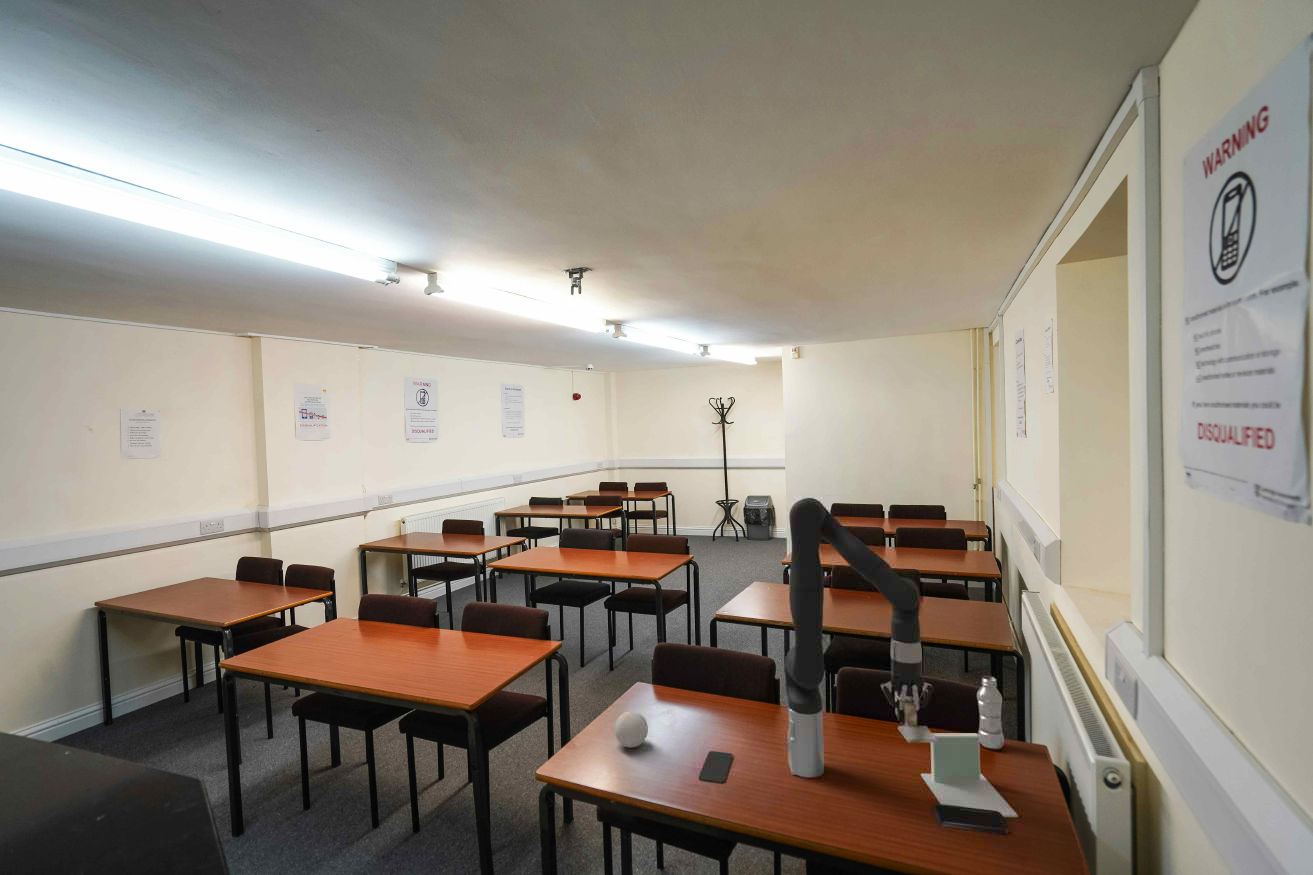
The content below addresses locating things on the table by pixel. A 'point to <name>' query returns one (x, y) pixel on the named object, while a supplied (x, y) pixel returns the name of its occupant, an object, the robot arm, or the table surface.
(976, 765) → the tile
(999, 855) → the table surface
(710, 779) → the phone
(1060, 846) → the table surface
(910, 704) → the scraper
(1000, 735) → the plastic bottle
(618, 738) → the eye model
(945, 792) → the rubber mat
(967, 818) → the phone
